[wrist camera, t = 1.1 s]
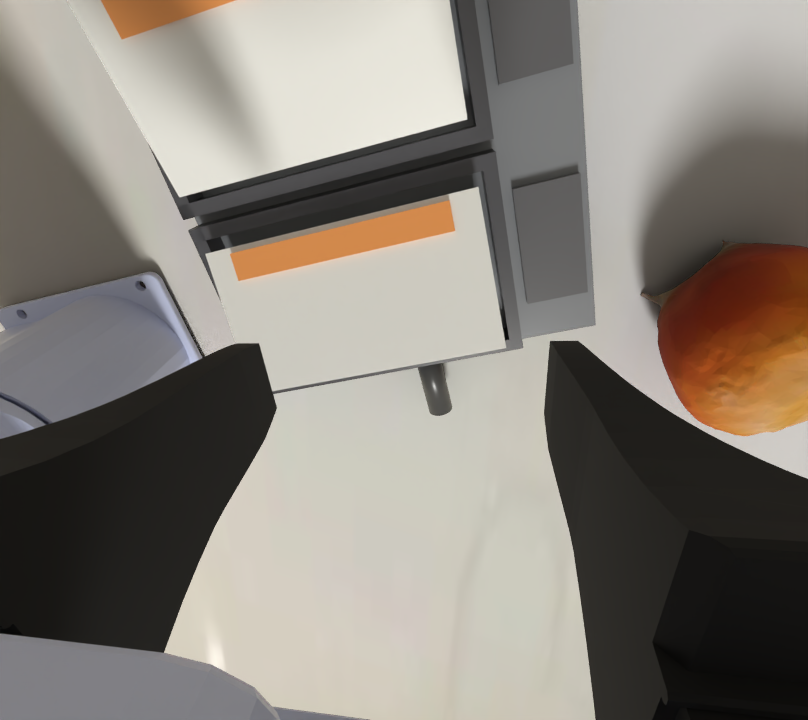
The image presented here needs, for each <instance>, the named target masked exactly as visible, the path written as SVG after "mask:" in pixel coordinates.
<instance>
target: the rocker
mask: <svg viewBox="0 0 808 720" xmlns="http://www.w3.org/2000/svg"><path fill="white" fill-rule="evenodd" d="M205 255H206V258H207V261H208V264H209V267H210V270H211V273H212V276H213V279H214V282H215V285H216V288H217V291H218V294H219V297H220V300H221V303H222V306H223V309H224V312H225V314H226V317H227V320H228V323H229V326H230V329H231V332H232V335H233V338H234V341H235V344H237V343H259V345H260V349H261V352H262V356H263V359H264V363H265V367H266V370H267V374H268V378H269V381H270V385H271V389H272V391H277V390H282V389H288V388H293V387H299V386H304V385H309V384H315V383H320V382H326V381H331V380H336V379H342V378H347V377H353V376H358V375H363V374H369V373H374V372H380V371H385V370H391V369H396V368H401V367H407V366H412V365H418V364H423V363H428V362H434V361H439V360H445V359H450V358H455V357H461V356H466V355H472V354H477V353H483V352H488V351H493V350H499V349H504V348H506V344H505V338H504V333H503V327H502V321H501V315H500V309H499V304H498V298H497V292H496V286H495V280H494V275H493V269H492V263H491V257H490V251H489V246H488V240H487V234H486V228H485V222H484V217H483V211H482V205H481V199H480V194H479V188H478V187H476V188H472V189H467V190H463V191H459V192H455V193H451V194H447V195H443V196H439V197H435V198H431V199H427V200H423V201H419V202H415V203H410V204H406V205H402V206H398V207H394V208H390V209H386V210H382V211H378V212H374V213H370V214H366V215H362V216H358V217H353V218H349V219H345V220H341V221H337V222H333V223H329V224H325V225H321V226H317V227H313V228H309V229H305V230H301V231H296V232H292V233H288V234H284V235H280V236H276V237H272V238H268V239H264V240H260V241H256V242H252V243H248V244H244V245H239V246H235V247H231V248H227V249H223V250H219V251H215V252H211V253H207V254H205Z"/></svg>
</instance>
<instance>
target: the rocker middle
mask: <svg viewBox="0 0 808 720" xmlns="http://www.w3.org/2000/svg"><path fill="white" fill-rule="evenodd" d="M66 2H67V3H68V5H69V7H70V8H71V10H72V12H73V14H74V15H75V17H76V19H77V21H78V22H79V24H80V26H81V28H82V29H83V31H84V33H85V34H86V36H87V38H88V40H89V41H90V43H91V45H92V47H93V48H94V50H95V52H96V54H97V55H98V57H99V59H100V60H101V62H102V64H103V66H104V67H105V69H106V71H107V73H108V74H109V76H110V78H111V80H112V81H113V83H114V85H115V86H116V88H117V90H118V92H119V93H120V95H121V97H122V99H123V100H124V102H125V104H126V106H127V107H128V109H129V111H130V113H131V114H132V116H133V118H134V119H135V121H136V123H137V125H138V126H139V128H140V130H141V132H142V133H143V135H144V137H145V139H146V140H147V142H148V144H149V145H150V147H151V149H152V151H153V152H154V154H155V156H156V158H157V159H158V161H159V163H160V165H161V166H162V168H163V170H164V171H165V173H166V175H167V177H168V178H169V180H170V182H171V184H172V185H173V187H174V189H175V191H176V192H177V194H178V196H179V197H183V196H187V195H190V194H194V193H198V192H201V191H205V190H209V189H213V188H216V187H220V186H224V185H227V184H231V183H235V182H238V181H242V180H246V179H249V178H253V177H257V176H260V175H264V174H268V173H271V172H275V171H279V170H283V169H286V168H290V167H294V166H297V165H301V164H305V163H308V162H312V161H316V160H319V159H323V158H327V157H330V156H334V155H338V154H341V153H345V152H349V151H353V150H356V149H360V148H364V147H367V146H371V145H375V144H378V143H382V142H386V141H389V140H393V139H397V138H400V137H404V136H408V135H412V134H415V133H419V132H423V131H426V130H430V129H434V128H437V127H441V126H445V125H448V124H452V123H456V122H459V121H463V120H467V113H466V107H465V100H464V93H463V87H462V80H461V73H460V67H459V60H458V54H457V47H456V40H455V34H454V27H453V20H452V14H451V7H450V1H449V0H66Z"/></svg>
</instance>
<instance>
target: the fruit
mask: <svg viewBox="0 0 808 720" xmlns="http://www.w3.org/2000/svg"><path fill="white" fill-rule="evenodd" d="M641 296H643V297H645V298H647V299H648V300H651V301H653V302H654V303H657V304H659V305H660V307H661V310H660V314H659V317H658V321H657V327H658V346H659V350H660V354H661V358H662V361H663V364H664V367H665V369H666V372H667V374H668V376H669V379H670V381H671V383H672V385H673V387H674V390H675V392H676V394H677V396H678V398H679V400H680V401H681V403H682V404H683V405H684V407H685V408H686V409H687V410H688V411H689V412H690V413H691V414H692V415H693V416H694V417H695V418H696V419H697V420H698V421H700V422H701V423H703V424H705V425H707V426H710V427H713V428H714V429H717V430H722V431H725V432H728V433H731V434H734V435H741V436H750V435H755V434H758V433H763V432H776V431H779V430H782V429H784V428H786V427H789V426H792V425H795V424H798V423H801V422H804V421H807V420H808V248H807V247H802V246H795V245H781V244H764V243H752V244H747V243H734V242H725V241H723V246H722V249H721V251H720V252H719V253H718V254H717V255H716V256H715V257H714V258H713V259H712V260H711V261H709V262H708V263H707V264H706V265H705V266H703V267H702V268H701V269H700V270H699V271H698V272H696V273H695V274H694V275H693V276H691V277H690V278H688V279H687V280H686V281H684V282H683V283H681V284H680V285H678V286H677V287H675V288H673V289H672V290H669V291H667V292H665V293H662V294H660V295H657V296H651V295H648V294H645V293H642V295H641Z"/></svg>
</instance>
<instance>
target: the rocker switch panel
mask: <svg viewBox="0 0 808 720" xmlns="http://www.w3.org/2000/svg"><path fill="white" fill-rule="evenodd" d="M449 1H450V7H451V14H452V20H453V27H454V34H455V40H456V47H457V54H458V60H459V67H460V73H461V80H462V87H463V93H464V100H465V107H466V113H467V120H463V121H459V122H456V123H452V124H448V125H445V126H441V127H437V128H434V129H430V130H426V131H423V132H419V133H415V134H412V135H408V136H404V137H400V138H397V139H393V140H389V141H386V142H382V143H378V144H375V145H371V146H367V147H364V148H360V149H356V150H353V151H349V152H345V153H341V154H338V155H334V156H330V157H327V158H323V159H319V160H316V161H312V162H308V163H305V164H301V165H297V166H294V167H290V168H286V169H283V170H279V171H275V172H271V173H268V174H264V175H260V176H257V177H253V178H249V179H246V180H242V181H238V182H235V183H231V184H227V185H224V186H220V187H216V188H213V189H209V190H205V191H201V192H198V193H194V194H190V195H187V196H183V197H179V196H178V194H177V192H176V191H175V189H174V187H173V185H172V184H171V182H170V180H169V178H168V177H167V175H166V173H165V171H164V170H163V168H162V166H161V165H160V163H159V161H158V159H157V158H156V156H155V154H154V152H153V151H152V149H151V147H150V149H151V151H152V153H153V155H154V157H155V159H156V162H157V164H158V166H159V168H160V170H161V172H162V175H163V177H164V179H165V181H166V183H167V185H168V188H169V190H170V192H171V194H172V196H173V198H174V201H175V203H176V205H177V207H178V209H179V212H180V214H181V216H182V218H183V220H185V219H189V218H193V217H195V219H196V222H197V224H198V226H196V227H194V228H192V229H190V230H188V231H189V233H190V235H191V238H192V240H193V242H194V244H195V246H196V248H197V251H198V253H199V255H200V257H201V259H202V261H203V264H204V266H205V268H206V270H207V272H208V275H209V277H210V279H211V281H212V283H213V285H214V288H215V290H216V292H217V294H218V291H217V288H216V285H215V282H214V279H213V276H212V273H211V270H210V267H209V264H208V261H207V258H206V255H205V254H207V253H211V252H215V251H219V250H223V249H227V248H231V247H235V246H239V245H244V244H248V243H252V242H256V241H260V240H264V239H268V238H272V237H276V236H280V235H284V234H288V233H292V232H296V231H301V230H305V229H309V228H313V227H317V226H321V225H325V224H329V223H333V222H337V221H341V220H345V219H349V218H353V217H358V216H362V215H366V214H370V213H374V212H378V211H382V210H386V209H390V208H394V207H398V206H402V205H406V204H410V203H415V202H419V201H423V200H427V199H431V198H435V197H439V196H443V195H447V194H451V193H455V192H459V191H463V190H467V189H472V188H476V187H478V188H479V194H480V199H481V205H482V211H483V217H484V222H485V228H486V234H487V240H488V246H489V251H490V257H491V263H492V269H493V275H494V280H495V286H496V292H497V298H498V304H499V309H500V315H501V321H502V327H503V333H504V338H505V344H506V348H504V349H499V350H493V351H488V352H483V353H477V354H472V355H466V356H461V357H455V358H450V359H445V360H439V361H434V362H428V363H423V364H418V365H412V366H407V367H401V368H396V369H391V370H385V371H380V372H374V373H369V374H363V375H358V376H353V377H347V378H342V379H336V380H331V381H326V382H320V383H315V384H309V385H304V386H299V387H293V388H288V389H282V390H277V391H272V392H273V394H276V393H281V392H287V391H292V390H298V389H303V388H308V387H314V386H319V385H325V384H330V383H336V382H341V381H347V380H352V379H357V378H363V377H368V376H374V375H379V374H385V373H390V372H396V371H401V370H406V369H412V368H417V367H418V370H419V374H420V377H421V381H422V385H423V389H424V392H425V396H426V400H427V404H428V407H429V411H430V413H431V414H432V415H436V416H440V415H444V414H447V413H448V412H450V411H451V409H452V404H451V400H450V396H449V391H448V387H447V383H446V379H445V375H444V370H443V366H442V363H445V362H450V361H455V360H461V359H466V358H472V357H477V356H483V355H488V354H494V353H499V352H504V351H510V350H515V349H521V348H523V343H522V339H524V338H529V337H535V336H540V335H545V334H551V333H556V332H561V331H567V330H572V329H577V328H583V327H588V326H593V325H596V324H595V307H594V289H593V271H592V253H591V236H590V218H589V200H588V183H587V165H586V147H585V129H584V112H583V94H582V76H581V58H580V41H579V23H578V5H577V0H449ZM149 146H150V145H149ZM218 296H219V294H218ZM219 298H220V297H219ZM220 301H221V300H220Z"/></svg>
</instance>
